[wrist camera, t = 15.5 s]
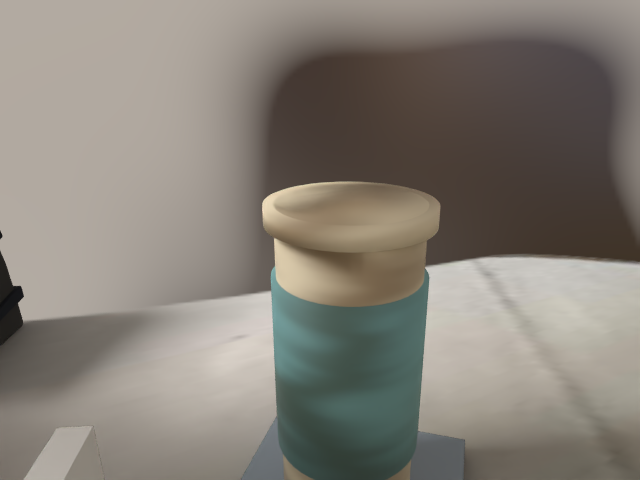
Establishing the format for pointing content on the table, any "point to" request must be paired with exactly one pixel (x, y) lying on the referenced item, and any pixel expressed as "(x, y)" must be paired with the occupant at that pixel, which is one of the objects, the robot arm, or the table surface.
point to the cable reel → (349, 326)
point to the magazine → (8, 303)
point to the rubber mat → (426, 464)
